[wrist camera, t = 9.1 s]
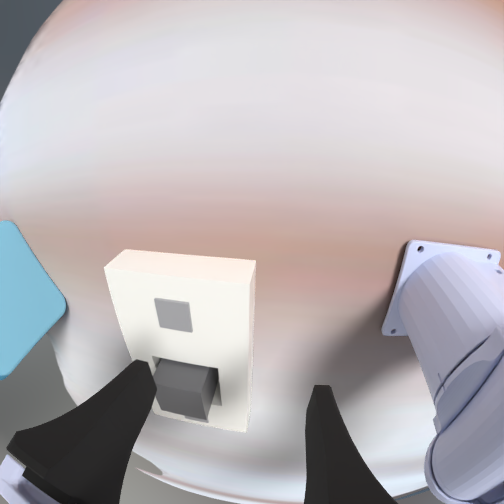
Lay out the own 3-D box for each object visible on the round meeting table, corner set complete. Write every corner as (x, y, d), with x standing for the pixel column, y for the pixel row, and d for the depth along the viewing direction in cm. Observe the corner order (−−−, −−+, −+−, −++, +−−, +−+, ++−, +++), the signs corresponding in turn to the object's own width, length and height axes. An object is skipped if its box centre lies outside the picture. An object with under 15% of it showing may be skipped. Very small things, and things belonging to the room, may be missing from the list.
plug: (217, 342, 22) (200, 393, 17) (220, 372, 24) (206, 420, 19) (173, 335, 23) (149, 382, 18) (180, 365, 25) (161, 409, 20)
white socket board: (256, 260, 19) (249, 285, 16) (250, 409, 26) (246, 434, 23) (125, 249, 20) (102, 268, 17) (163, 393, 27) (153, 415, 24)
